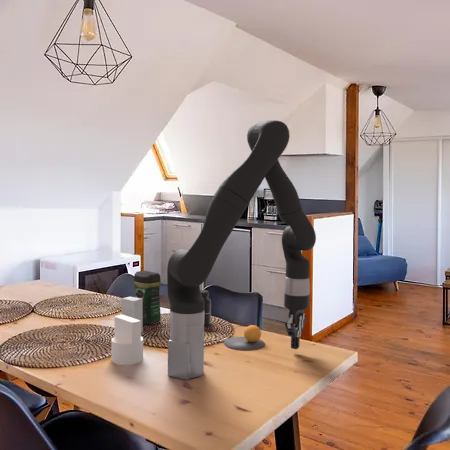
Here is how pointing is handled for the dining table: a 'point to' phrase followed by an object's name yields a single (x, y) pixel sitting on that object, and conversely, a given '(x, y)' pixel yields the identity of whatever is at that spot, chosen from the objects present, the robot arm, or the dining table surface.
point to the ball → (252, 333)
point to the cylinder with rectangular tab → (127, 341)
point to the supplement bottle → (206, 307)
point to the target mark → (243, 344)
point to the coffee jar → (148, 295)
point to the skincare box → (133, 308)
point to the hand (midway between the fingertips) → (295, 348)
